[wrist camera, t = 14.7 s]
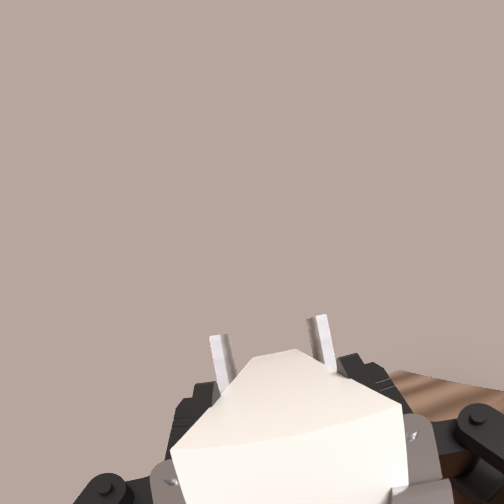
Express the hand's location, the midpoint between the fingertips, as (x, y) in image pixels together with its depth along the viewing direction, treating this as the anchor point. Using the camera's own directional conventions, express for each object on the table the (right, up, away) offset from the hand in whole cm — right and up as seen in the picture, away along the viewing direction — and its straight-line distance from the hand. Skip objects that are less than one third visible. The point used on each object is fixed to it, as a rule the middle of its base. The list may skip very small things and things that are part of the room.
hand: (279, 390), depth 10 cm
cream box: (+1, -4, +6) cm, 8 cm away
